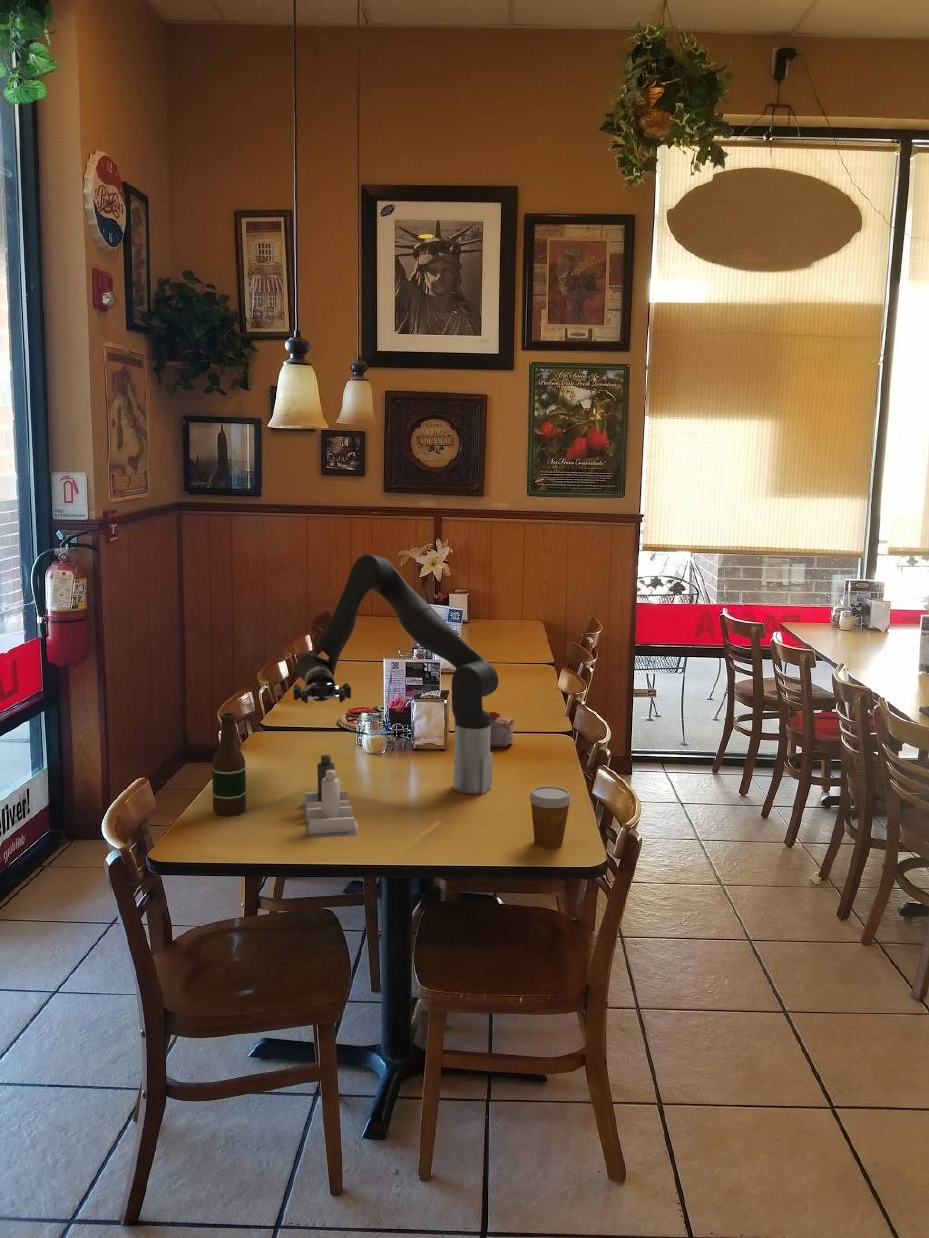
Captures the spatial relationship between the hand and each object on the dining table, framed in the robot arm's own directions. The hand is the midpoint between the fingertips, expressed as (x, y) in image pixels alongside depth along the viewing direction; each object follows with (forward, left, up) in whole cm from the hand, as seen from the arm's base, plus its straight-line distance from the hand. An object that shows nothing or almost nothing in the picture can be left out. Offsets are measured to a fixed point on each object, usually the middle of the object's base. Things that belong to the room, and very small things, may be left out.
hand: (323, 698), depth 249 cm
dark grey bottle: (-6, +8, -25) cm, 26 cm away
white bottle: (-12, +17, -25) cm, 32 cm away
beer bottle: (+16, +17, -26) cm, 35 cm away
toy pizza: (+21, -70, -27) cm, 78 cm away
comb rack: (-9, +13, -26) cm, 30 cm away
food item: (-19, -65, -26) cm, 73 cm away
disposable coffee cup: (-59, +1, -26) cm, 65 cm away
